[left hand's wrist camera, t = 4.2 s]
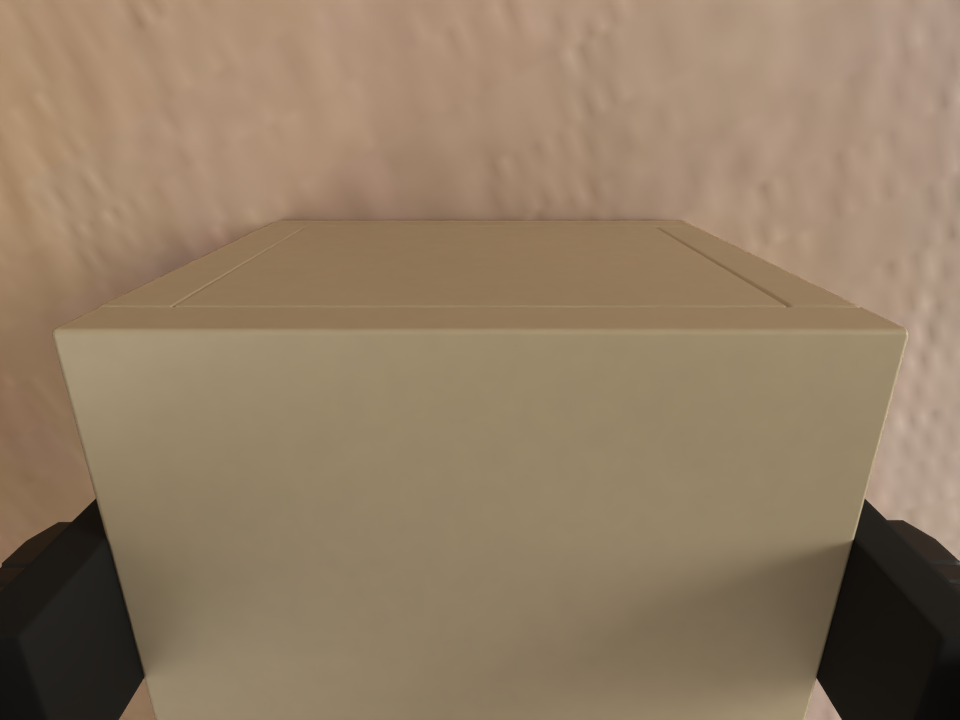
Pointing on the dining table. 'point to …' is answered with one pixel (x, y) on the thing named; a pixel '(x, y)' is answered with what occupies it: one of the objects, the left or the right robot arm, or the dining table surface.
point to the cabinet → (480, 471)
